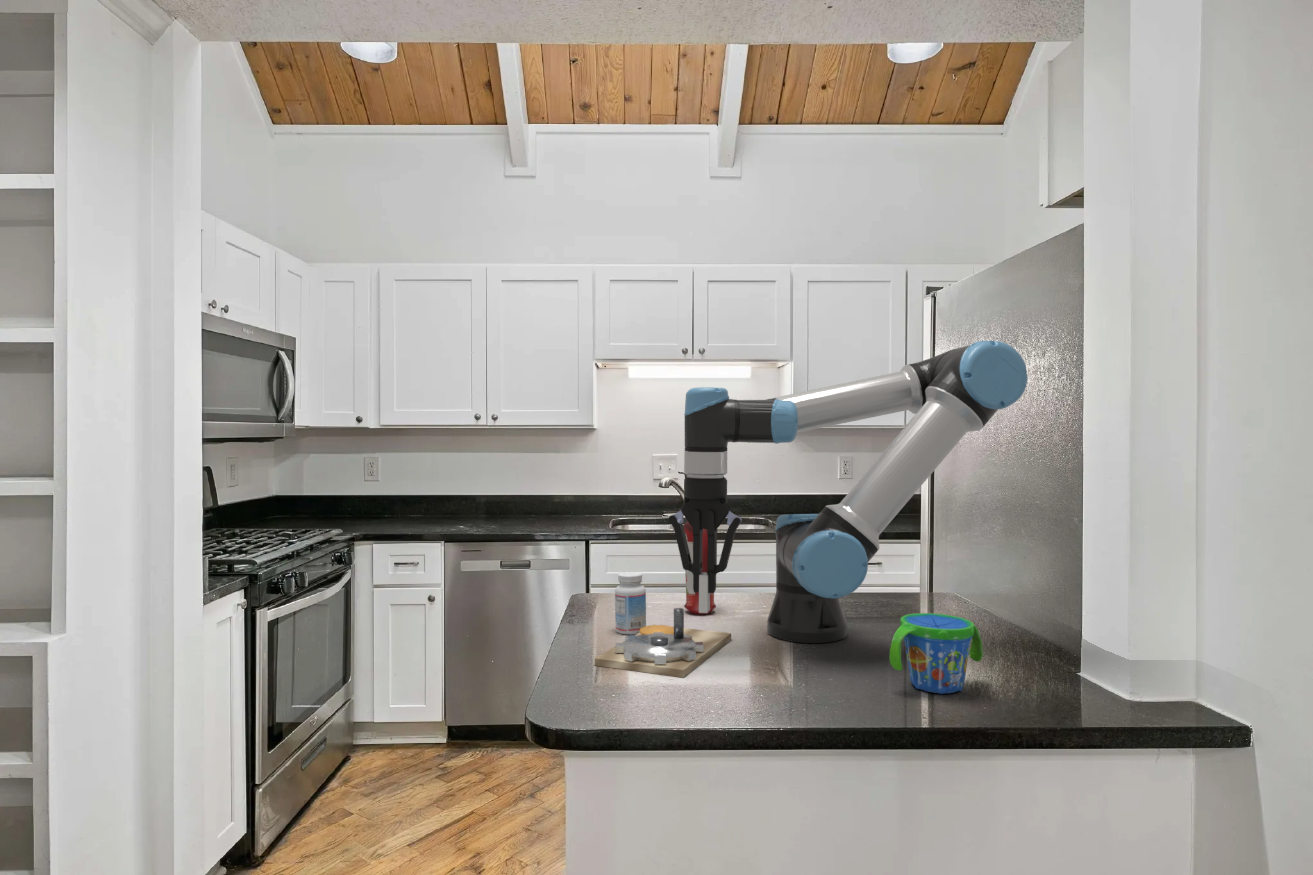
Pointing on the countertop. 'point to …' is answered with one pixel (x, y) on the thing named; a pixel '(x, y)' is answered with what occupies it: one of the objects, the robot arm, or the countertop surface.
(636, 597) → the pill bottle
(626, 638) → the sprocket disc
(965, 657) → the snack cup
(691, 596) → the liquor
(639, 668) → the board
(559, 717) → the countertop surface
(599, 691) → the countertop surface
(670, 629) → the seat pad
